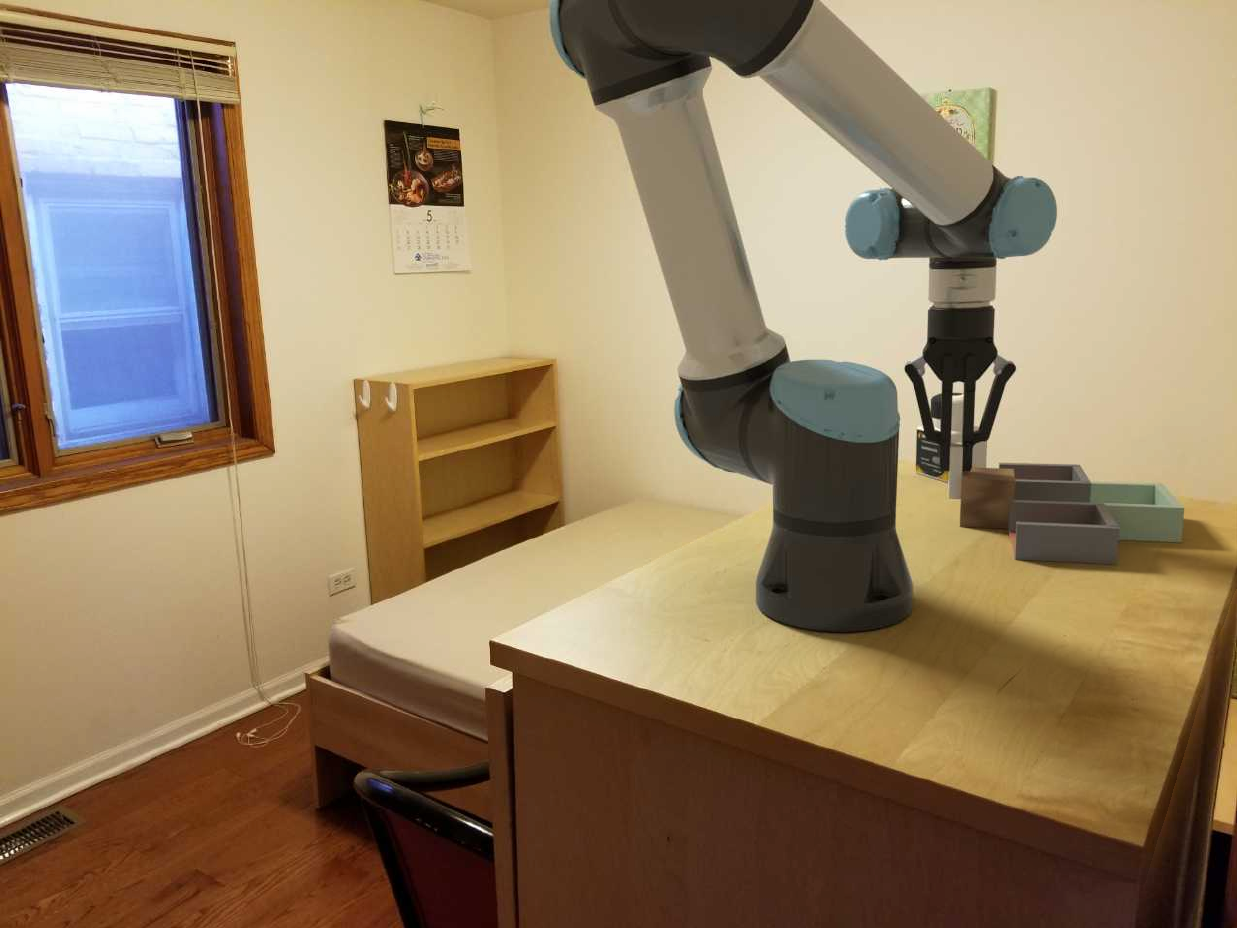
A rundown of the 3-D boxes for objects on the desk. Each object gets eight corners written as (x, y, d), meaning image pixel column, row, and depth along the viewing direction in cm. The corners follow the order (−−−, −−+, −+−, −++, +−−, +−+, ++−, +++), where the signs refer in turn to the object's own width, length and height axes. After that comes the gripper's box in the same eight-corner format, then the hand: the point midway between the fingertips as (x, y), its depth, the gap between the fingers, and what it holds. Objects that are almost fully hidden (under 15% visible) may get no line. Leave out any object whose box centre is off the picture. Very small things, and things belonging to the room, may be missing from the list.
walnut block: (959, 526, 118) (961, 478, 117) (960, 512, 124) (961, 467, 122) (1012, 529, 116) (1015, 480, 115) (1010, 515, 122) (1013, 468, 120)
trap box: (1015, 559, 106) (1017, 524, 105) (997, 491, 133) (999, 462, 132) (1202, 569, 100) (1205, 532, 100) (1144, 495, 127) (1147, 466, 126)
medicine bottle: (914, 473, 144) (916, 393, 142) (952, 467, 147) (955, 388, 144) (948, 483, 138) (950, 400, 135) (986, 476, 141) (990, 394, 138)
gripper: (903, 308, 113) (899, 502, 119) (1023, 305, 110) (1013, 506, 115) (904, 303, 120) (900, 486, 126) (1017, 300, 117) (1008, 489, 122)
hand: (954, 495), depth 121 cm, fingers closed
